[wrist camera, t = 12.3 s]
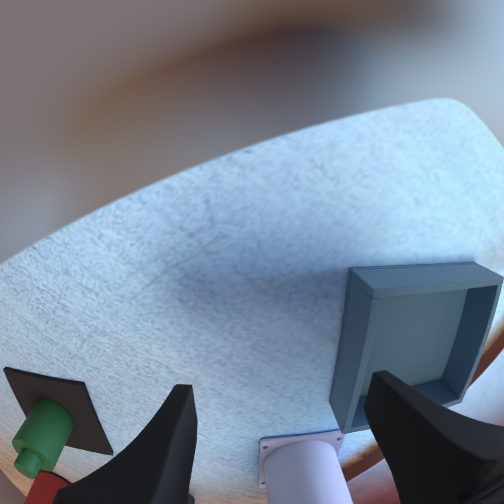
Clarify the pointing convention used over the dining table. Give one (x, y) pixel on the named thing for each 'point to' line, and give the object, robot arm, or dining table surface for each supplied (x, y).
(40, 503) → the beer can
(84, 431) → the mat
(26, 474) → the bottle
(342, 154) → the dining table surface
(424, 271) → the case
